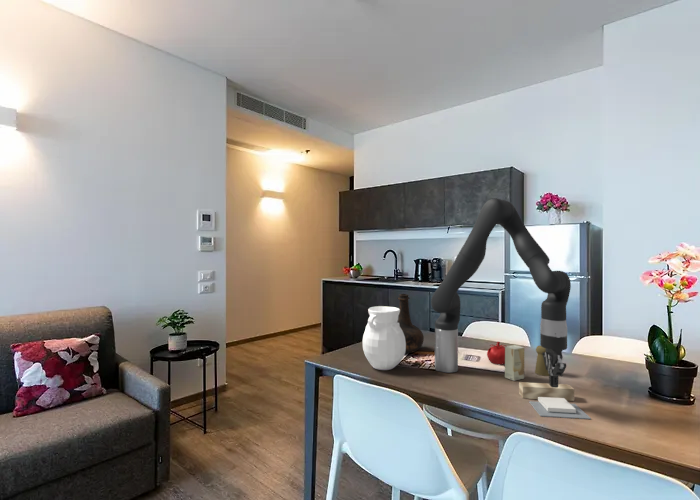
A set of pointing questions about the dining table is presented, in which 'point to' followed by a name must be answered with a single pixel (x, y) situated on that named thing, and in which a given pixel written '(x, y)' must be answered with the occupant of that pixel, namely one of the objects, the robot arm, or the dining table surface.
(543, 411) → the mat
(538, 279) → the robot arm
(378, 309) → the pitcher
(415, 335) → the glass bottle
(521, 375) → the skincare box
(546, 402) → the tile
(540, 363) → the olive pawn figure
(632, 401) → the dining table surface
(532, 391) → the beech block
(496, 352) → the pomegranate
